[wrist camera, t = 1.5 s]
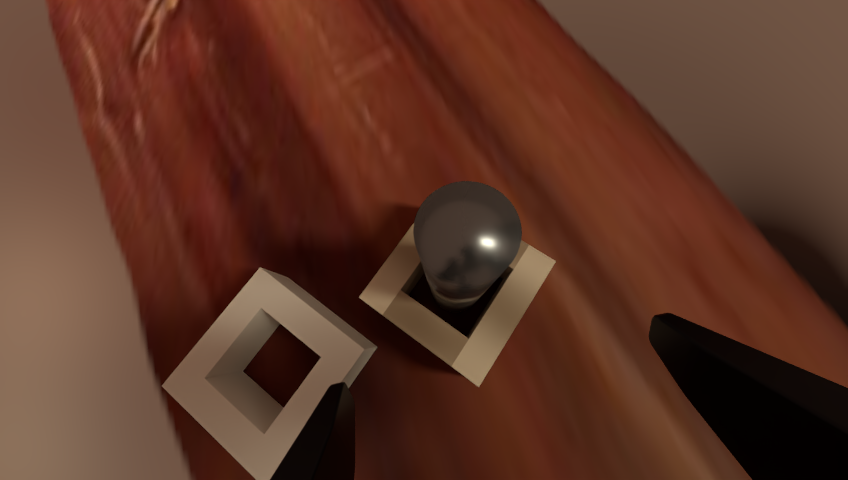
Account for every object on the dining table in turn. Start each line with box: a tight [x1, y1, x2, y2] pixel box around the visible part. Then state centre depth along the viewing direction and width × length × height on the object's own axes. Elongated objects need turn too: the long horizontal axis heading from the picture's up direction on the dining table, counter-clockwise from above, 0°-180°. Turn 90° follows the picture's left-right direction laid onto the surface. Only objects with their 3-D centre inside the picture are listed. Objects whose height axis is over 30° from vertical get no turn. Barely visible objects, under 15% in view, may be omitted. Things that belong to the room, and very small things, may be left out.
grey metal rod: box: [413, 181, 522, 313], centre depth 16 cm, size 3×3×12 cm
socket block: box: [162, 267, 377, 480], centre depth 19 cm, size 8×8×4 cm
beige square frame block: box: [359, 223, 556, 387], centre depth 20 cm, size 8×8×4 cm
